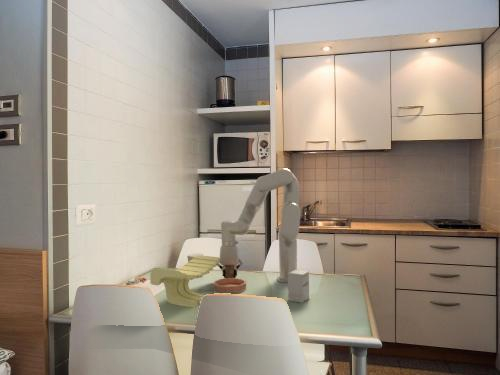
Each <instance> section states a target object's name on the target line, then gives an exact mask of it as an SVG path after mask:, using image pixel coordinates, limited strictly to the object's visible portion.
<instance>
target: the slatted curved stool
mask: <svg viewBox="0 0 500 375" xmlns="http://www.w3.org/2000/svg"><path fill="white" fill-rule="evenodd" d="M216 264H220V256H210V255H209V256H208V255H203V256H201V255H197V256H195V257H193V258H192V259H191V260H190V261H188V260H187V263H184V265H183V266H182V267H180V268H178V269H167V268H160V267H153V268H152V269H151V271H150V275H149V276H150V277H149V278H150V285H152V286H159V285H162V284H163V285H164V288H165V289H164V290H165V295H166V299H167V300H166V301H167V302H168V303H169V304H171V305H178V306H182V307H187V308H194V307H196V306H198V305H201V304H200V301H201V298H202V297H203V296H204V295H205V294H201V293H198V292H195V291H193V290H191V289H190V287H189V282H190V281H191V280H195V279H198V278H201V277H200V276H202V277H203V276H206V275H208V274H210V271H213V270H214V268H215V267H217V265H216ZM197 277H198V278H197Z"/></svg>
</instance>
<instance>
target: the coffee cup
mask: <svg viewBox="0 0 500 375" xmlns="http://www.w3.org/2000/svg"><path fill="white" fill-rule="evenodd" d="M197 255H201V256H204V254H202V253H191V254H188V255H187V262H188V261H190V260H191V259H192V258H193V257H195V256H197ZM201 277H203V276H200V277H199V278H201Z"/></svg>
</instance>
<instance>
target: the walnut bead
mask: <svg viewBox="0 0 500 375" xmlns="http://www.w3.org/2000/svg"><path fill="white" fill-rule="evenodd" d="M234 269H235V268H234V265H225V278H234ZM225 278H224V279H225Z"/></svg>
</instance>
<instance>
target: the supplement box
mask: <svg viewBox="0 0 500 375" xmlns="http://www.w3.org/2000/svg"><path fill="white" fill-rule="evenodd" d="M287 286H288V288H287V289H288V292H287V293H288V301H290V302H298V303H304V302H305V301H307V300H308V299H309V300H310V272H309V270H308V271H307V270H299V269H297V270H294V271H292V272H290V273H288V283H287Z"/></svg>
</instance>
